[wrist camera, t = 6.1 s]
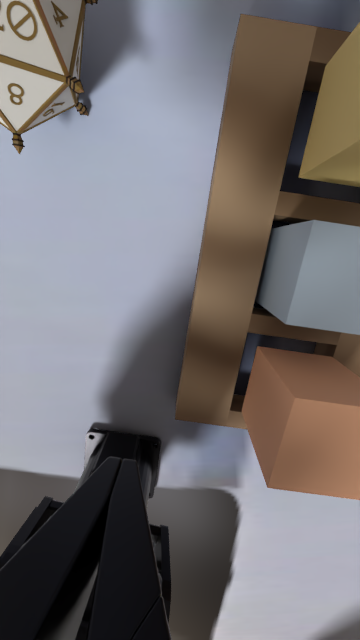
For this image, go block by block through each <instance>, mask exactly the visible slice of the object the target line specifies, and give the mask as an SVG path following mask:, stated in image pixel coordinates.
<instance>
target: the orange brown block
mask: <svg viewBox="0 0 360 640" xmlns="http://www.w3.org/2000/svg"><path fill="white" fill-rule="evenodd" d="M242 414H243V417H244V420H245V423H246V426H247V429H248V432H249V435H250V438H251V441H252V444H253V447H254V450H255V453H256V455H257V458H258V461H259V464H260V467H261V470H262V473H263V476H264V479H265V482H266V485H267V488H273V489H281V490H288V491H296V492H303V493H311V494H318V495H326V496H333V497H341V498H349V499H356V500H360V377H358V376H357V375H356V374H354V373H353V372H352V371H350V370H349V369H348V368H346V367H345V366H344V365H342V364H341V363H340V362H338V361H337V360H336V359H334V358H333V357H330V356H323V355H316V354H309V353H302V352H295V351H288V350H281V349H274V348H267V347H260V346H257V350H256V354H255V358H254V362H253V366H252V370H251V374H250V378H249V383H248V387H247V391H246V395H245V399H244V403H243V407H242Z"/></svg>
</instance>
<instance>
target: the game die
mask: <svg viewBox="0 0 360 640" xmlns="http://www.w3.org/2000/svg"><path fill="white" fill-rule="evenodd" d="M97 1H98V0H0V124H2V125H3V126H4V127H6V128H7V129H8V130H10V131H11V132H12V133H13V139H12V140H13V144H12V145H14V147H15V148H16V150H17V151H18V153H19V154H20V152H21V150H22V149H23V147H25V146H23V142H24V141H23V140H22V138H21V134H22V133H24V132H26V131H28V130H30V129H32V128H34V127H36V126H38V125H40V124H42V123H44V122H45V121H47V120H49V119H51V118H53V117H55V116H57V115H59V114H61V113H63V112H65V111H67V110H69V109H71V108H73V107H74V106H75V107H76V109H77V111H79V112H80V115H87V116H88V113H87V108H86V106H84V105H83V104H82V102H81V103H80V102H78V97H79V94H80V93H83V92H84V90H83V86H82V84H81V81H80V71H81V58H82V45H83V32H84V19H85V6H86V4H87V3H90V4H91V5H93V3H96V4H97Z"/></svg>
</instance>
